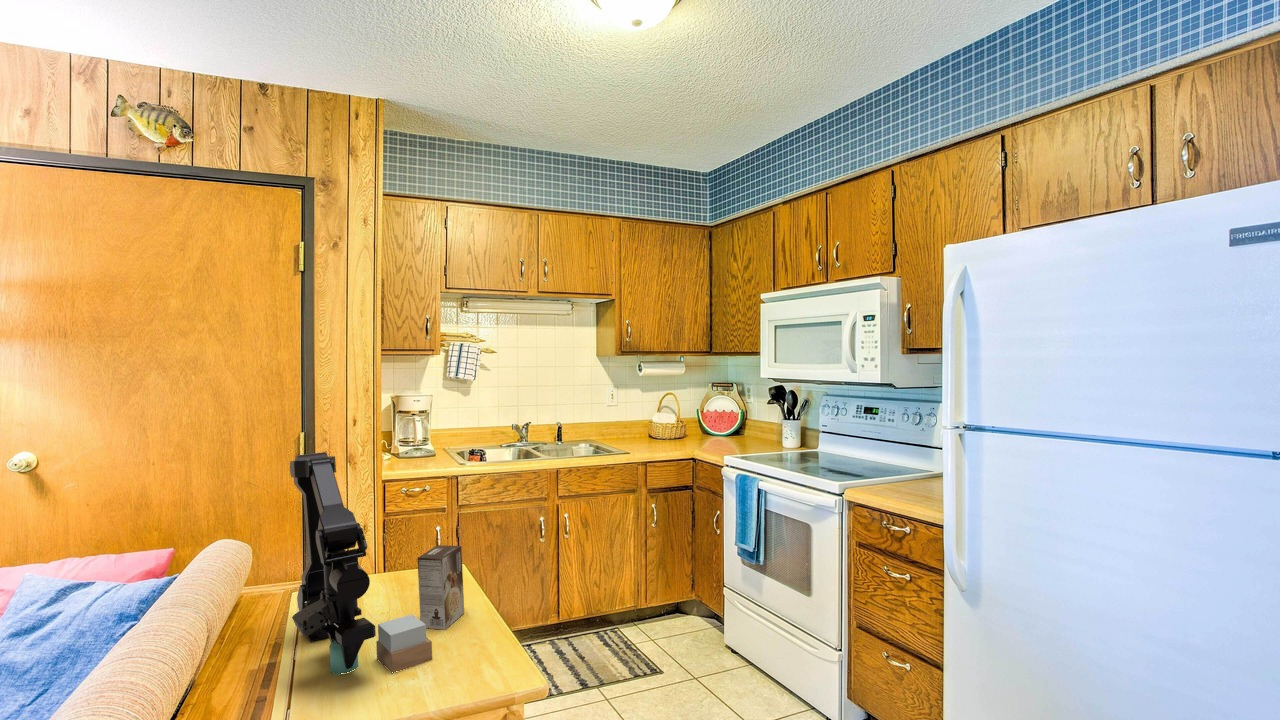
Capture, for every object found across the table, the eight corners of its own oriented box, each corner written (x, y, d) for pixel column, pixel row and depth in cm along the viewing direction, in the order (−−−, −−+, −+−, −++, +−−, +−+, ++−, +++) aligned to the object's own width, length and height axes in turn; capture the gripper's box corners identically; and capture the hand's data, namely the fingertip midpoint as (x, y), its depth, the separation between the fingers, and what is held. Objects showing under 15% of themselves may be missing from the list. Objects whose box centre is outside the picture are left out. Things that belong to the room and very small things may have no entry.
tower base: (377, 660, 136) (376, 641, 136) (415, 647, 141) (414, 628, 141) (392, 674, 130) (392, 654, 130) (432, 660, 135) (431, 641, 135)
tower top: (378, 641, 135) (377, 624, 135) (412, 630, 140) (412, 614, 140) (391, 653, 130) (390, 635, 130) (426, 641, 135) (425, 624, 134)
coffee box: (439, 611, 159) (437, 544, 158) (465, 613, 157) (462, 545, 157) (419, 628, 150) (416, 557, 149) (446, 630, 148) (443, 558, 148)
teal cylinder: (326, 668, 132) (325, 643, 132) (352, 659, 136) (351, 635, 136) (335, 677, 129) (334, 651, 128) (362, 668, 132) (361, 643, 132)
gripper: (281, 583, 133) (285, 661, 134) (311, 610, 119) (315, 697, 120) (340, 569, 141) (343, 643, 141) (375, 592, 127) (378, 674, 127)
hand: (344, 663), depth 132 cm, fingers closed on teal cylinder, 5 cm apart
